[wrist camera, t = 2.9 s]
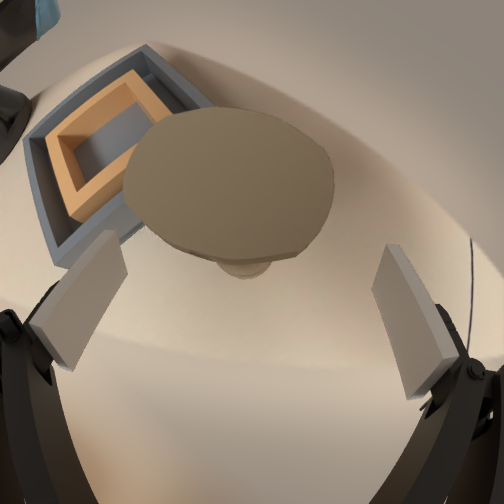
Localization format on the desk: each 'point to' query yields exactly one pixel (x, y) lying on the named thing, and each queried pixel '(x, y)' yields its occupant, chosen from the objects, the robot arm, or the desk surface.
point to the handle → (230, 187)
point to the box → (99, 150)
